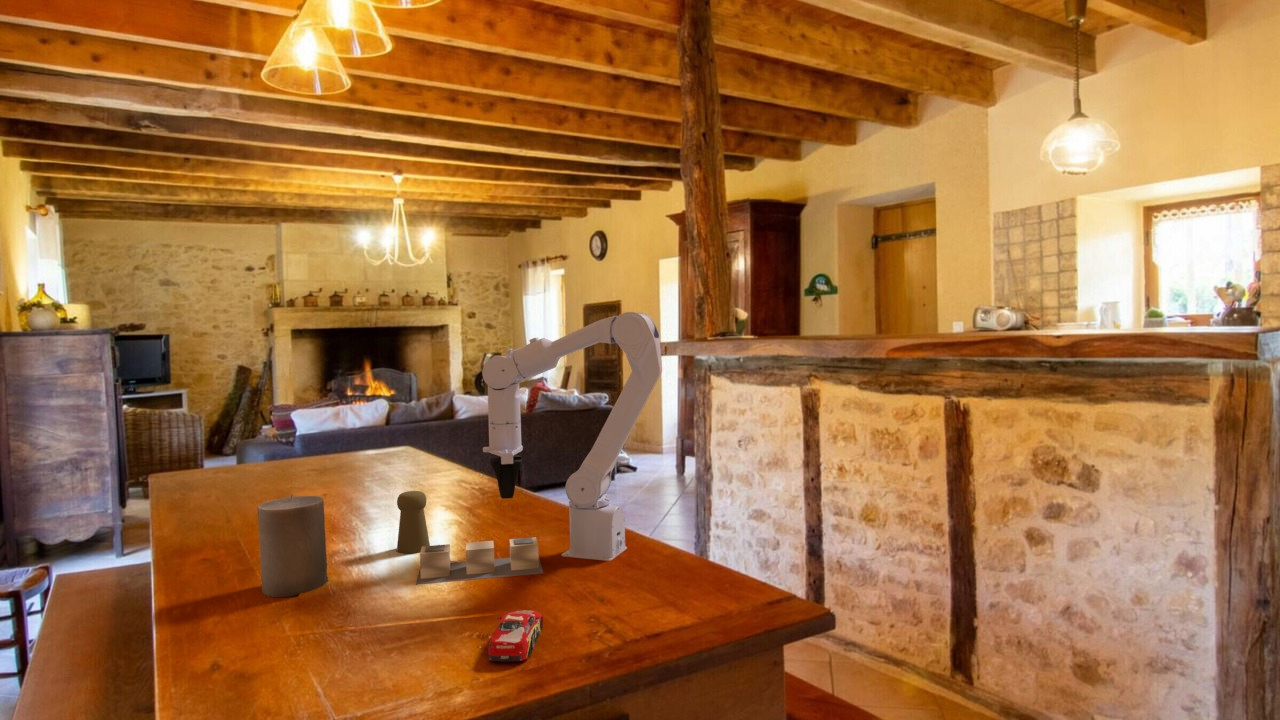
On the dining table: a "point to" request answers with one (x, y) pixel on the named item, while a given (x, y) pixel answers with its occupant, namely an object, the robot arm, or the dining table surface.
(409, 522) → the brown game pawn
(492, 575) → the mat
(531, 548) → the marked block 2
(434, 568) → the marked block 1
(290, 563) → the pillar candle
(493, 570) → the plain block
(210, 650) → the dining table surface
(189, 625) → the dining table surface
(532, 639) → the race car
